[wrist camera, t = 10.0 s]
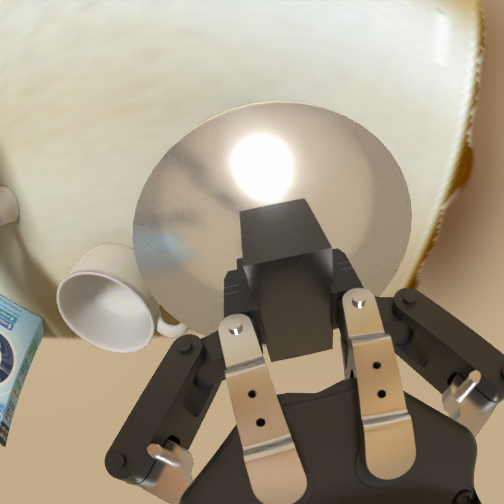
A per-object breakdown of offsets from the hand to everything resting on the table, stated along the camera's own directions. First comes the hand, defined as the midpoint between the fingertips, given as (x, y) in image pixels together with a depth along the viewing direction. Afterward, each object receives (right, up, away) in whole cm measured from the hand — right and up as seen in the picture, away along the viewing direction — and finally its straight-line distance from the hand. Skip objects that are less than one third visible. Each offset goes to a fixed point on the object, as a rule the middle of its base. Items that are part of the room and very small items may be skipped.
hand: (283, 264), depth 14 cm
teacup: (-15, -2, +17) cm, 23 cm away
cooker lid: (0, +1, +2) cm, 2 cm away
